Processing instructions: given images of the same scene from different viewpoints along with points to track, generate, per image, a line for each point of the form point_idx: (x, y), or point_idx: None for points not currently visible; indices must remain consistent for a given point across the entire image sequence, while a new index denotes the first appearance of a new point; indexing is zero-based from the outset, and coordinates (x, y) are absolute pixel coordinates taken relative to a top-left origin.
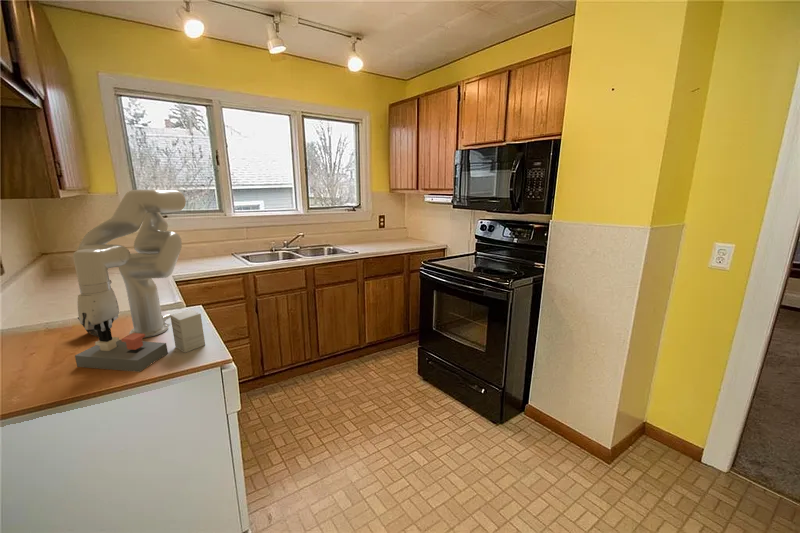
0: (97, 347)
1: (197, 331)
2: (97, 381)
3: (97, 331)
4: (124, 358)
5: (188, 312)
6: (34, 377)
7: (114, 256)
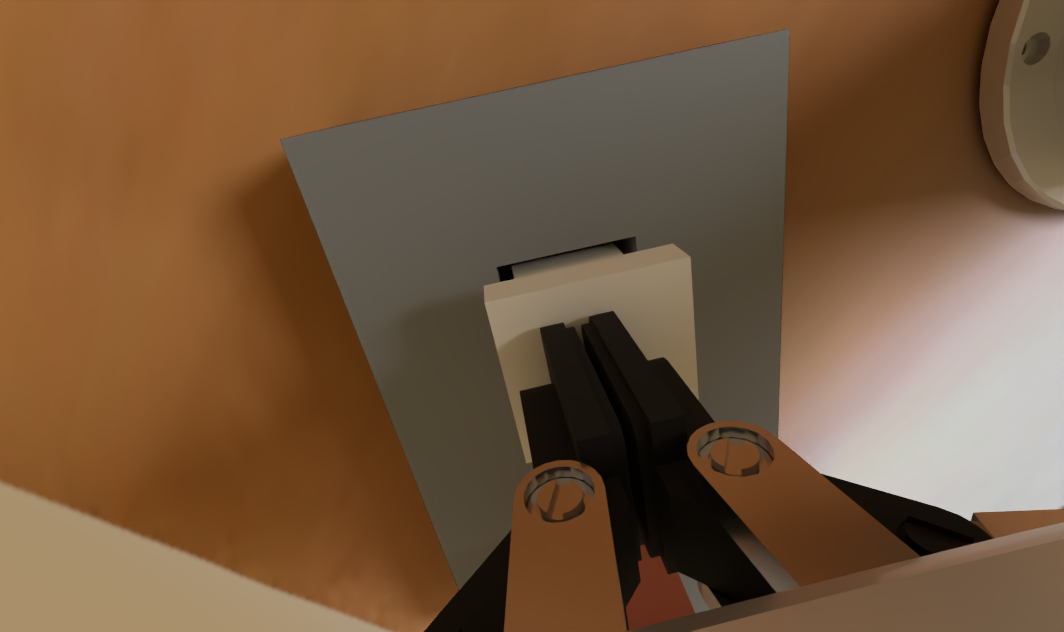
0: (545, 175)
1: None
2: (300, 507)
3: (538, 485)
4: None
5: None
6: None
7: None
